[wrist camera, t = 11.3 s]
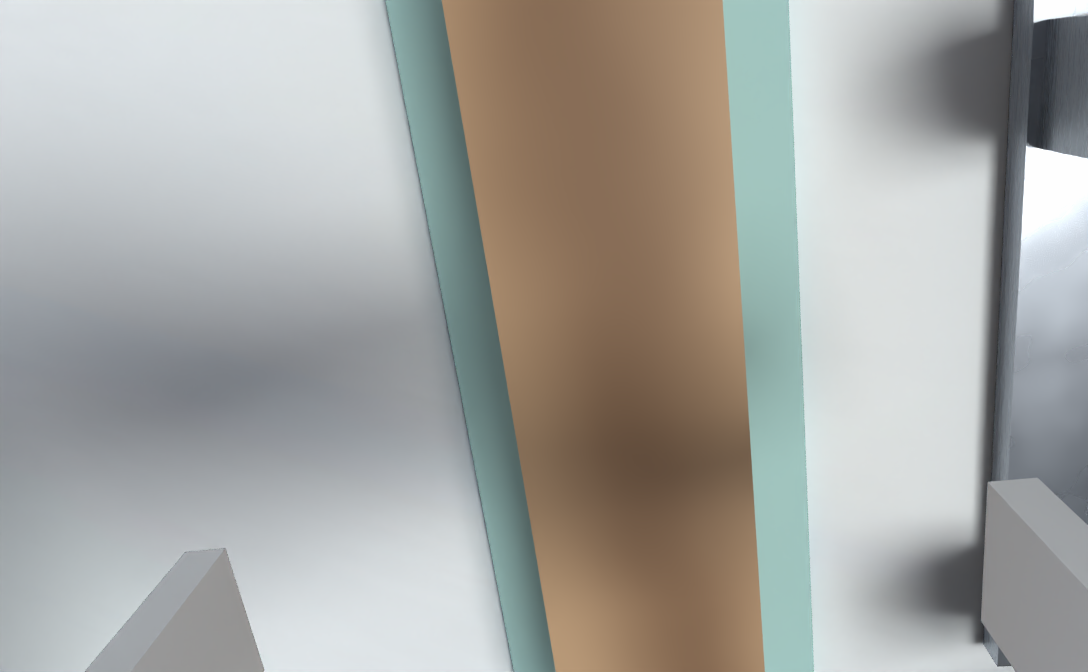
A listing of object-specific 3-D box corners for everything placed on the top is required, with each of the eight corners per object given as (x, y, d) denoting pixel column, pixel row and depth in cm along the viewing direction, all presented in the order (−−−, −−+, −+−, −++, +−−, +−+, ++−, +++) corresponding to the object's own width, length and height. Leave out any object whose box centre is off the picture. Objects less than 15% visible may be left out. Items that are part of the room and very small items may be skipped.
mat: (521, 688, 28) (519, 700, 27) (382, -48, 20) (375, -51, 20) (810, 675, 26) (814, 689, 26) (779, -118, 19) (783, -123, 18)
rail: (592, 675, 27) (584, 840, 21) (486, -25, 20) (431, -60, 14) (741, 668, 26) (775, 838, 20) (687, -59, 19) (715, -110, 13)
